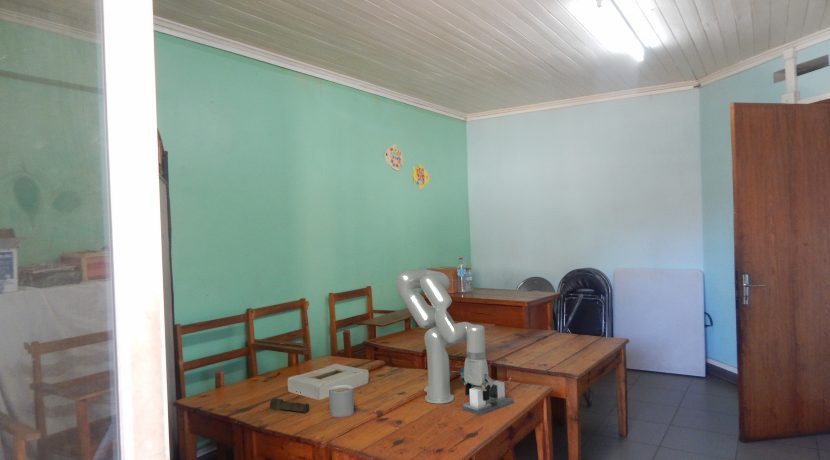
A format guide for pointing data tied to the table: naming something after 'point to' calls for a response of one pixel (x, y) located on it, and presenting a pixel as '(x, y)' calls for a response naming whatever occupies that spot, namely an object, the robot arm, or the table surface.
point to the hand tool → (288, 405)
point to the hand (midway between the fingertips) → (477, 397)
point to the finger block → (476, 397)
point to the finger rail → (491, 400)
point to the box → (326, 380)
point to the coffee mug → (341, 401)
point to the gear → (461, 377)
